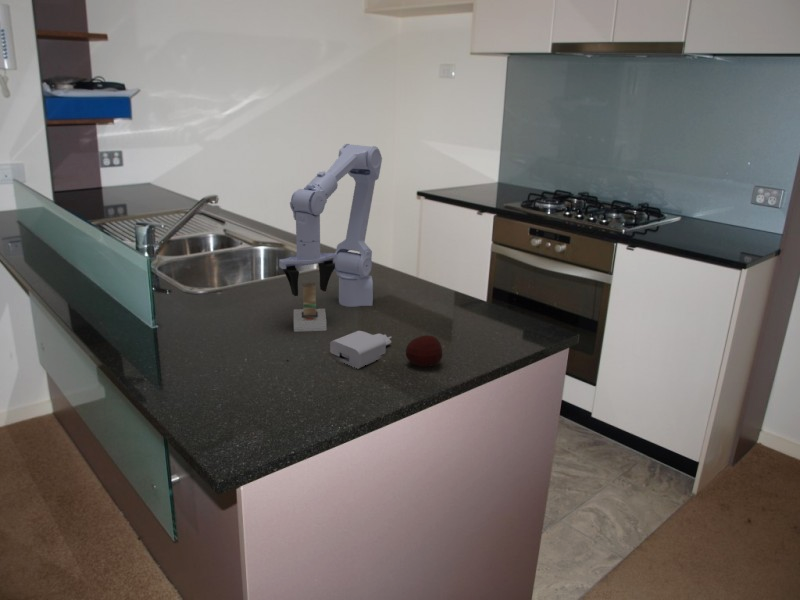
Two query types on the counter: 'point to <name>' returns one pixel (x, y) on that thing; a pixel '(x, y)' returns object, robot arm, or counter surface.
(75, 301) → the counter surface
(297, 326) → the stand
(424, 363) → the potato
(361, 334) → the charger
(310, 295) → the post
